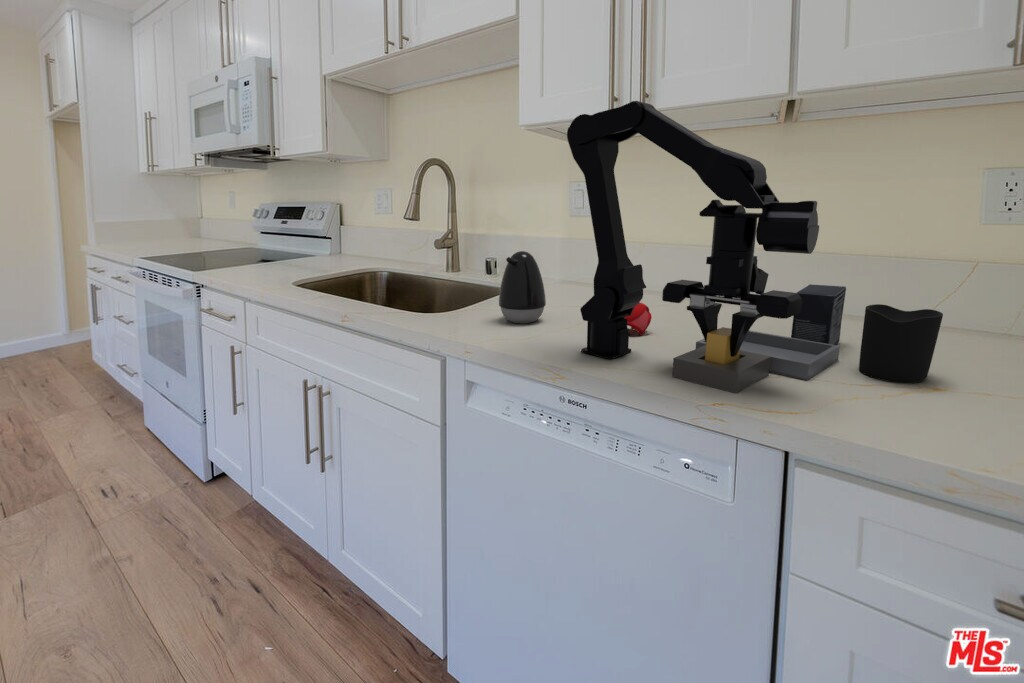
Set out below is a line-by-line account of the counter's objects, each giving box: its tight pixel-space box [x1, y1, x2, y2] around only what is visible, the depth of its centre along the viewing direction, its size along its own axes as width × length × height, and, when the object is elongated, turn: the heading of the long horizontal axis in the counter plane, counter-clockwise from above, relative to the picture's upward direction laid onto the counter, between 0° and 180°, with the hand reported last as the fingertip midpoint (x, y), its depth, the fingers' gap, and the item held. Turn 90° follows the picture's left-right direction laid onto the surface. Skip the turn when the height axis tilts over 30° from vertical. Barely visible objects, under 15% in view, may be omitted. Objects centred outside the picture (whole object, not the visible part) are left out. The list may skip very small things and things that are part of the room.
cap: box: [624, 301, 653, 336], centre depth 109 cm, size 8×6×6 cm
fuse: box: [705, 326, 740, 365], centre depth 83 cm, size 3×5×7 cm, turn 134°
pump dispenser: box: [498, 250, 547, 324], centre depth 119 cm, size 10×10×15 cm
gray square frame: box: [671, 345, 771, 394], centre depth 84 cm, size 10×11×3 cm
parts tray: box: [695, 329, 841, 381], centre depth 92 cm, size 18×14×2 cm
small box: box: [790, 284, 847, 345], centre depth 98 cm, size 11×6×10 cm, turn 141°
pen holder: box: [858, 303, 944, 384], centre depth 83 cm, size 9×9×10 cm
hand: (722, 353), depth 83 cm, fingers closed on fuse, 3 cm apart
